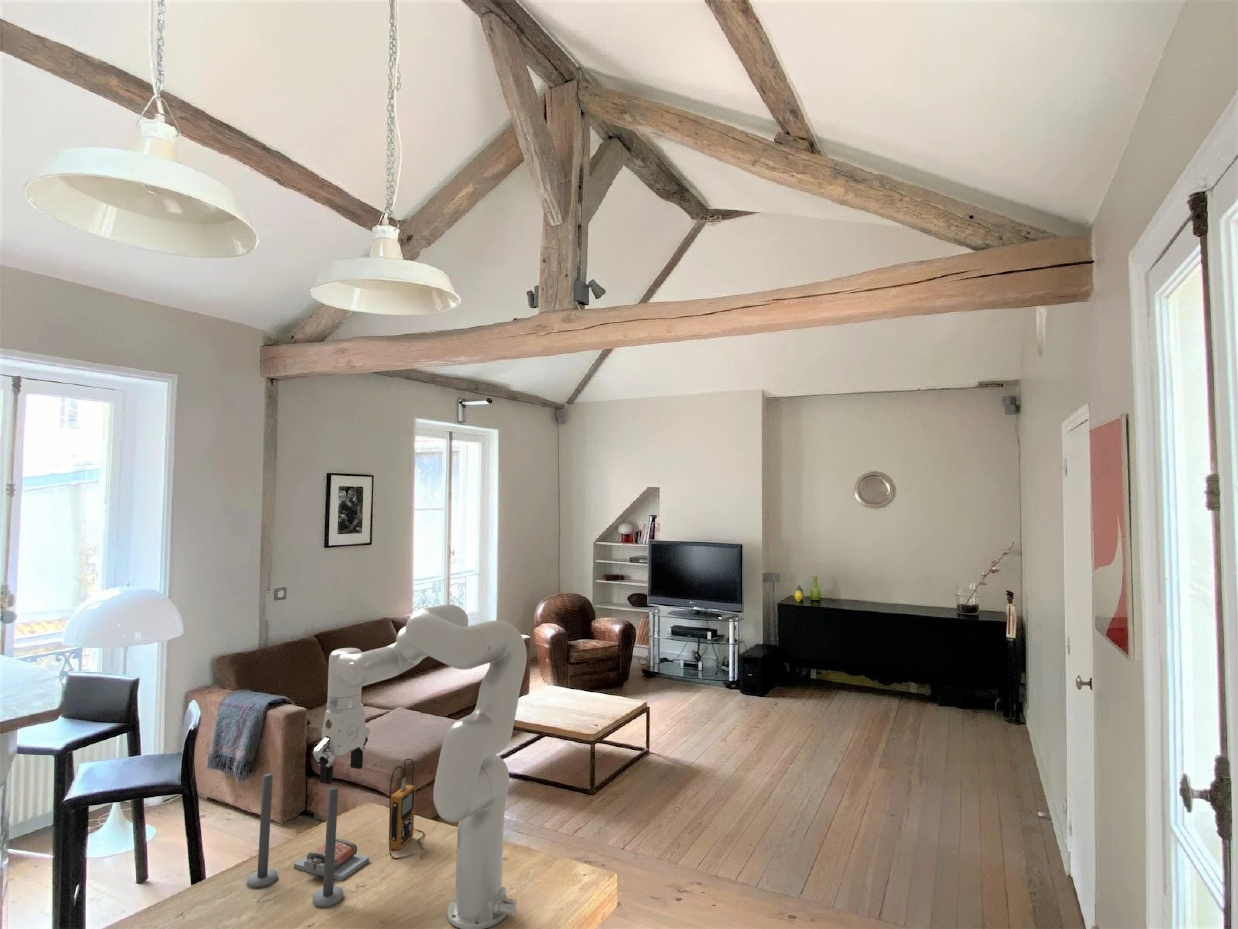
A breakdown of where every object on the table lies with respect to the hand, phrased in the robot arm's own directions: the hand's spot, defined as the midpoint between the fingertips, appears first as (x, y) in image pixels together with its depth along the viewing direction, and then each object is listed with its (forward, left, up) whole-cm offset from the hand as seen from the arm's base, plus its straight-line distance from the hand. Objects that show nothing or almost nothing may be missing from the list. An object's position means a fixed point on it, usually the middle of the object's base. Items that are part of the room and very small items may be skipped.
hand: (341, 775), depth 156 cm
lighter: (+1, -3, -18) cm, 18 cm away
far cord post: (+11, +11, -21) cm, 26 cm away
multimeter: (-11, -15, -21) cm, 28 cm away
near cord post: (-8, +11, -21) cm, 25 cm away
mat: (+1, 0, -21) cm, 21 cm away
